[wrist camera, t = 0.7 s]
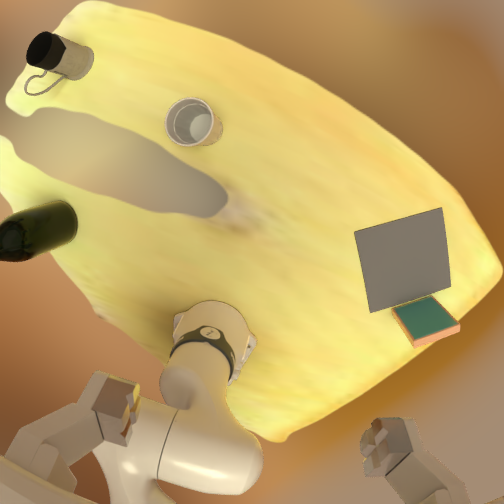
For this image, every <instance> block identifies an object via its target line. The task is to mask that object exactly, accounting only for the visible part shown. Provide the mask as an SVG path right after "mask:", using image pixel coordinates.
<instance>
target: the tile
mask: <svg viewBox="0 0 504 504" xmlns="http://www.w3.org/2000/svg"><path fill="white" fill-rule="evenodd" d="M392 314H393V316H394V318H395V319H396V321H397V322H398V324H399V326H400V327H401V329H402V330H403V332H404V333H405V335H406V336H407V338H408V340H409V341H410V343H411V344H412V346H413V348H417V347H420V346H422V345H425V344H428V343H431V342H433V341H436V340H439V339H441V338H444V337H447V336H449V335H452V334H454V333H457V332H459V331H460V324H459V323H458V322H457V320H456V319H455V318H454V317H453V316H452V315H451V314H450V313H449V312H448V311H447V310H446V309H445V308H444V307H443V306H442V305H441V304H440V303H439V302H438V301H437V300H436V299H435V298H434V297H433V296H429V297H426V298H423V299H420V300H417V301H414V302H411V303H408V304H405V305H402V306H399V307H395V308H392Z"/></svg>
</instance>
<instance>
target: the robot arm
mask: <svg viewBox="0 0 504 504" xmlns="http://www.w3.org/2000/svg"><path fill="white" fill-rule="evenodd" d="M172 337H173V338H174V346H173V348H172V351H171V354H170V359H169V361H168V363H167V365H166V367H165V369H164V370H163V372H162V374H161V376H160V381H159V384H160V385H159V386H160V391H161V394H162V396H163V398H164V400H165V402H166V404H167V405H165V404H162V403H159V402H156V401H153V400H151V399H148V398H145V397H143V396H140V395H138V394H139V391H140V385H139V383H136V382H132V381H129V380H126V379H123V378H120V377H117V376H114V375H111V374H108V373H105V372H102V371H99V370H96V371H95V372H94V373H93V375H92V377H91V379H90V380H89V382H88V384H87V385H86V387H85V389H84V391H83V393H82V394H81V396H80V398H79V400H78V402H77V404H75V403H71V404H69V405H67V406H65V407H63V408H61V409H59V410H57V411H55V412H53V413H51V414H49V415H47V416H45V417H43V418H41V419H39V420H37V421H35V422H33V423H31V424H28V425H26V426H24V427H22V428H20V430H19V431H18V433H17V435H16V437H15V438H14V440H13V442H12V443H11V445H10V447H9V449H8V450H7V453H6V454H5V456H4V457H3V456H1V455H0V504H98V503H95V502H93V501H89V500H88V499H85V498H82V497H80V496H78V495H76V494H73V492H74V489H75V487H76V484H77V481H76V479H75V477H74V475H73V474H72V472H71V471H70V469H69V468H68V467H69V466H70V465H72V464H73V463H75V462H76V461H78V460H79V459H80V458H82V457H83V456H85V455H86V454H87V453H89V452H90V451H92V452H93V453H94V455H95V456H96V458H97V460H98V461H99V464H100V465H101V468H102V470H103V472H104V475H105V477H106V480H107V483H108V487H109V492H110V504H177V503H176V502H174V501H173V500H172V499H171V498H170V497H168V496H167V495H166V494H165V493H164V492H163V491H162V490H161V489H160V487H159V486H158V484H157V482H156V479H160V480H163V481H167V482H169V483H172V484H176V485H179V486H182V487H186V488H189V489H193V490H196V491H200V492H204V493H210V494H223V495H240V494H242V493H244V492H245V491H247V490H248V489H249V488H251V487H252V486H253V485H254V484H255V482H256V481H257V479H258V478H259V476H260V474H261V472H262V467H263V452H262V448H261V445H260V443H259V441H258V440H257V438H256V437H255V436H254V435H253V434H252V433H250V432H249V431H248V430H246V429H245V428H244V427H243V426H242V425H241V424H240V423H239V422H238V421H237V420H236V418H235V417H234V416H233V414H232V413H231V411H230V409H229V407H228V405H227V402H226V390H227V386H229V385H230V384H231V383H232V382H233V380H237V378H238V376H239V374H240V369H241V368H242V366H243V365H244V363H245V362H246V360H247V358H248V357H249V355H250V354H251V352H252V351H253V349H254V348H255V346H256V344H257V339H256V338H255V336H254V335H253V334H252V333H251V332H250V331H249V329H248V327H247V324H246V322H245V320H244V318H243V317H242V315H241V314H240V313H239V312H238V311H237V310H236V309H235V308H233V307H232V306H230V305H228V304H225V303H222V302H218V301H205V302H201V303H198V304H196V305H195V306H193V307H192V308H191V309H189V310H188V311H186V312H182V313H178V314H176V315H175V317H174V333H173V336H172ZM248 345H250V347H248ZM371 425H372V427H371V428H369V429H368V430H366V431H365V432H364V433H363V435H362V437H361V441H360V450H361V454H362V455H363V456H364V457H365V460H364V462H363V467H364V472H365V477H381V476H386V477H385V478H386V480H387V481H388V482H389V483H390V485H391V486H392V487H393V489H394V490H395V491H396V492H397V494H398V495H399V496H400V498H401V499H402V500H403V501H404V502H405V504H471V503H470V499H469V497H468V493H467V490H466V487H465V484H464V482H462V481H461V480H460V479H459V478H458V477H457V476H456V475H455V474H453V473H452V472H451V471H450V470H449V469H448V468H447V467H446V466H445V465H443V464H442V463H441V462H440V461H439V460H438V459H437V458H436V457H435V456H433V455H432V454H431V453H430V452H429V451H425V449H424V446H423V443H422V440H421V437H420V434H419V432H418V428H417V426H416V423H415V420H414V419H413V418H410V417H409V418H376V419H375V420H373V422H372V423H371ZM485 504H504V496H502V497H500V498H497V499H495V500H492V501H490V502H488V503H485Z"/></svg>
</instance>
